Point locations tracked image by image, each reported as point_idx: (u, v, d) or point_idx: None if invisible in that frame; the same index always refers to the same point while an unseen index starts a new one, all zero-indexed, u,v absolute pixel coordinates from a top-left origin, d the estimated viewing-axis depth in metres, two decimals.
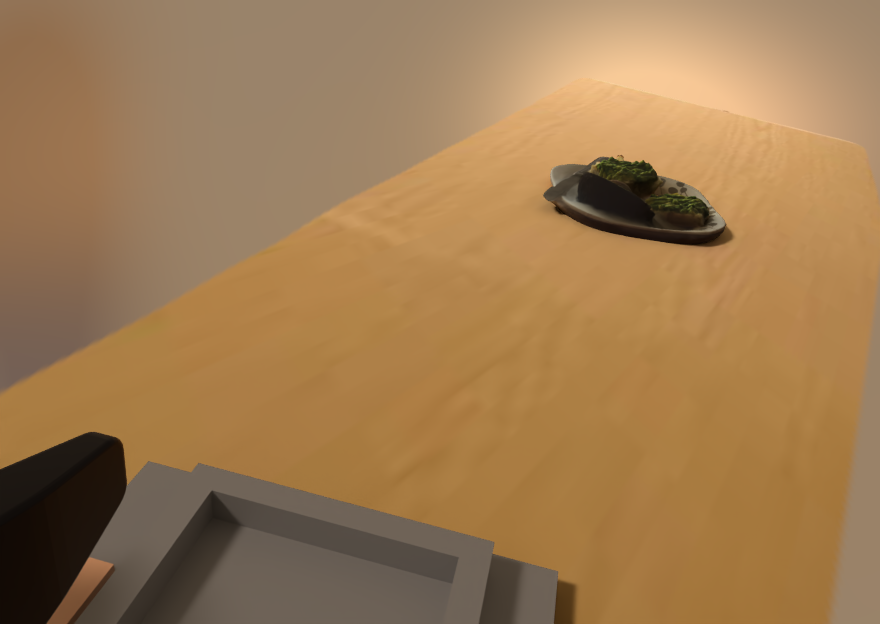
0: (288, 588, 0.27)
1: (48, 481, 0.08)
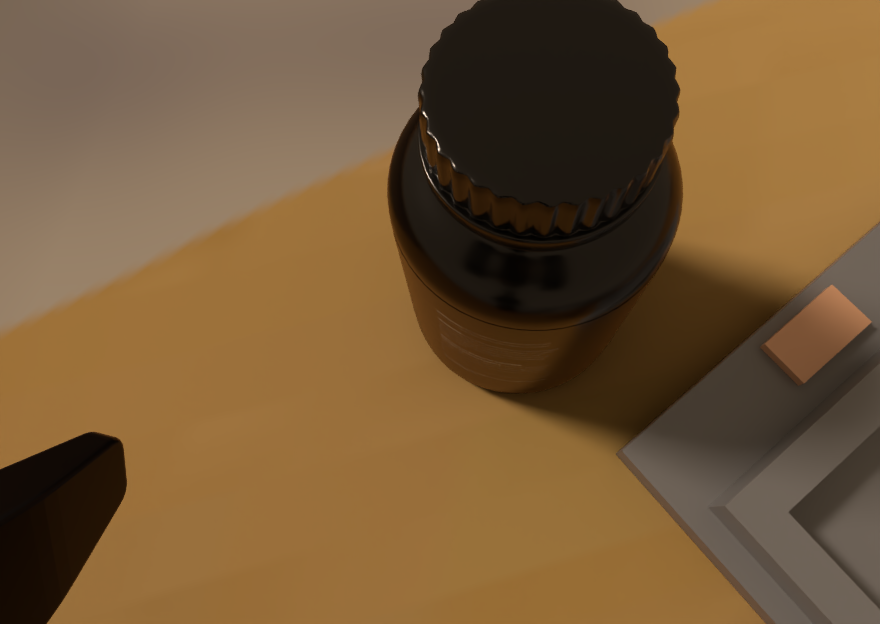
0: None
1: (48, 481, 0.08)
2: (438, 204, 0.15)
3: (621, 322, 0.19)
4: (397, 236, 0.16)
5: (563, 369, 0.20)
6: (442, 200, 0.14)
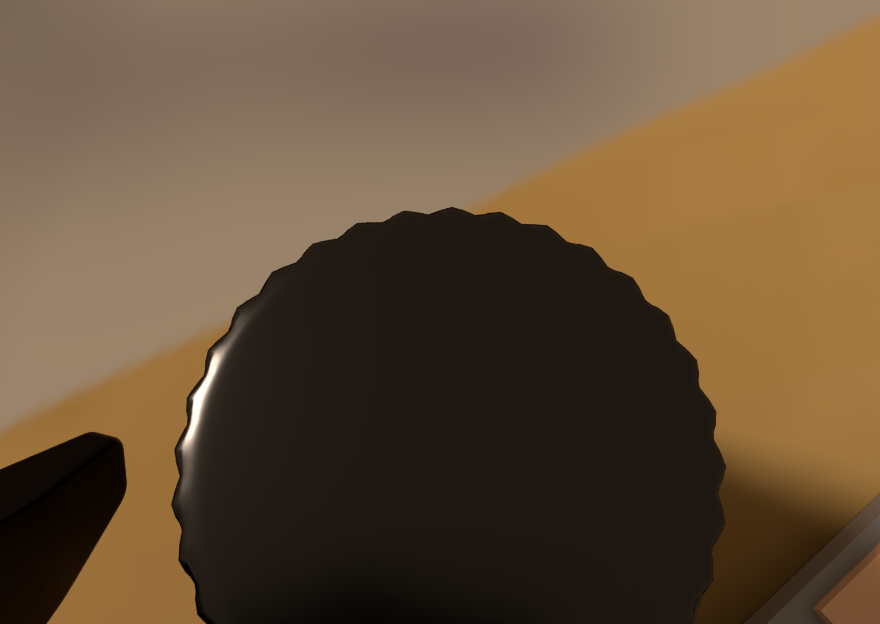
0: None
1: (48, 481, 0.08)
2: None
3: None
4: None
5: None
6: None
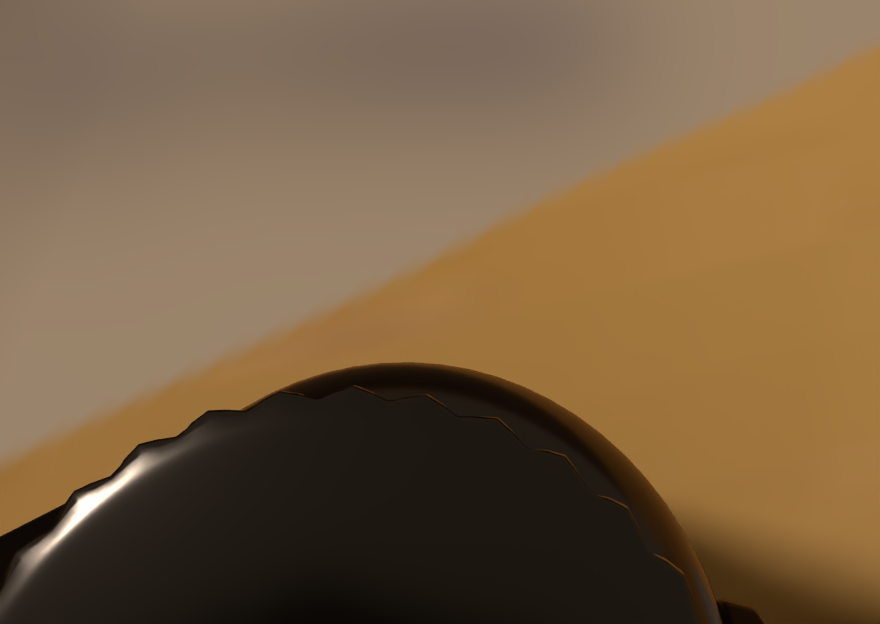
0: None
1: None
2: None
3: None
4: None
5: None
6: None
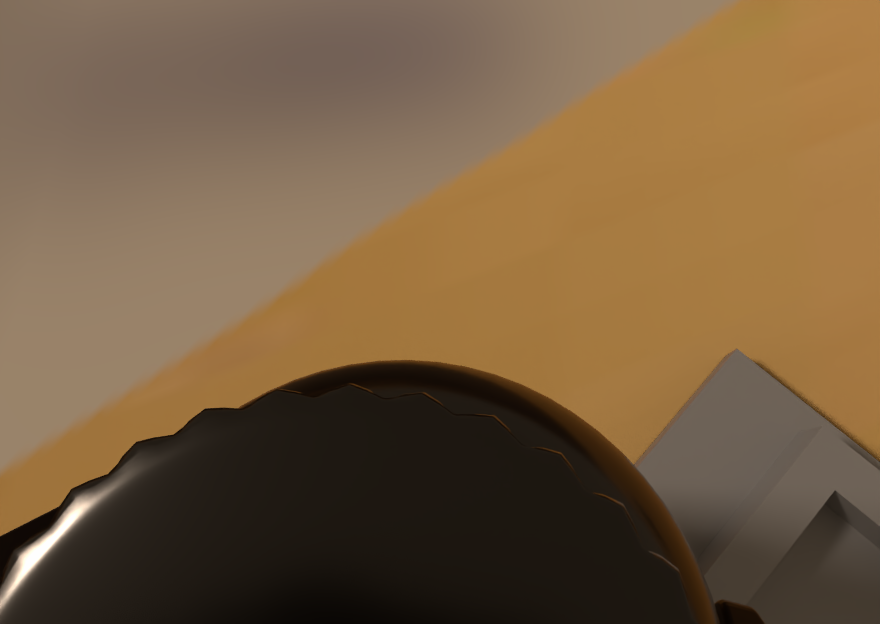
0: None
1: None
2: None
3: None
4: None
5: None
6: None
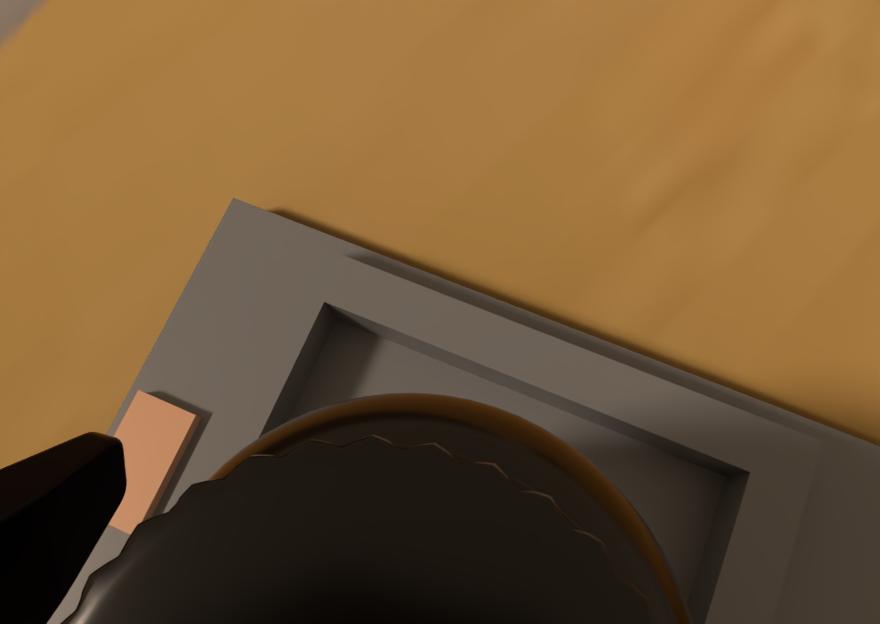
0: None
1: (48, 481, 0.08)
2: None
3: None
4: None
5: None
6: None
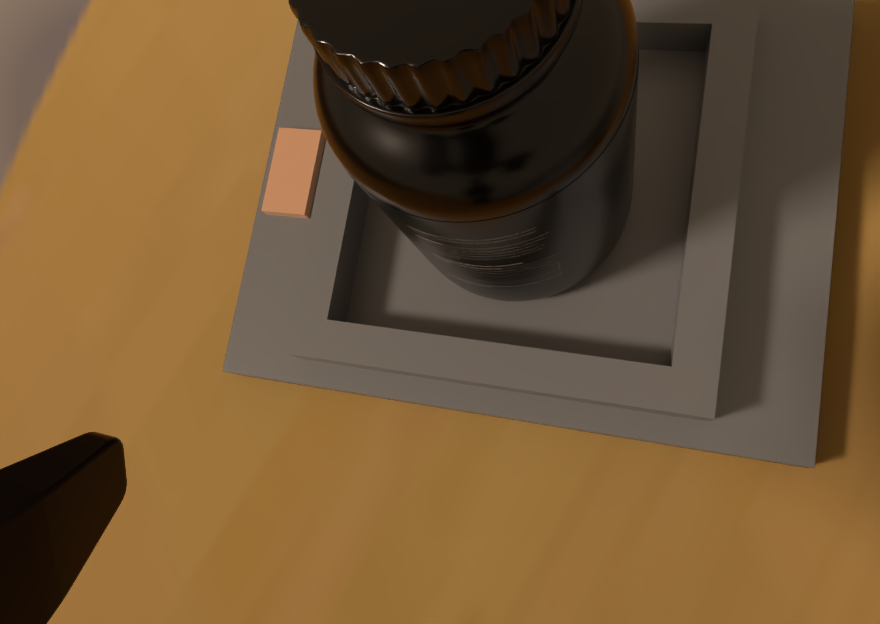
0: None
1: (48, 481, 0.08)
2: (360, 107, 0.14)
3: (620, 187, 0.17)
4: (337, 157, 0.15)
5: (575, 256, 0.18)
6: (350, 97, 0.12)
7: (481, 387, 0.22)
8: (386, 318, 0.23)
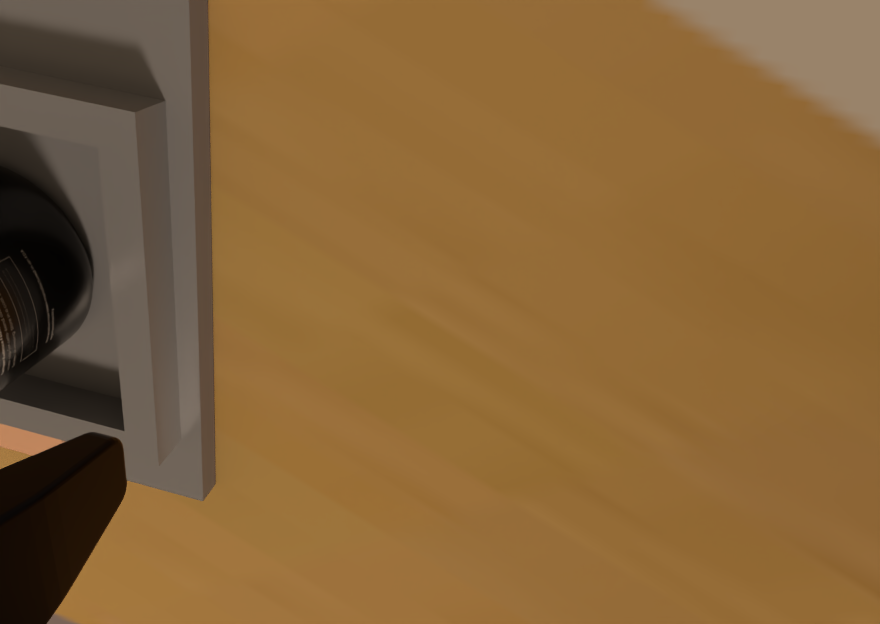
0: None
1: (48, 481, 0.08)
2: None
3: None
4: None
5: None
6: None
7: (175, 300, 0.23)
8: None
